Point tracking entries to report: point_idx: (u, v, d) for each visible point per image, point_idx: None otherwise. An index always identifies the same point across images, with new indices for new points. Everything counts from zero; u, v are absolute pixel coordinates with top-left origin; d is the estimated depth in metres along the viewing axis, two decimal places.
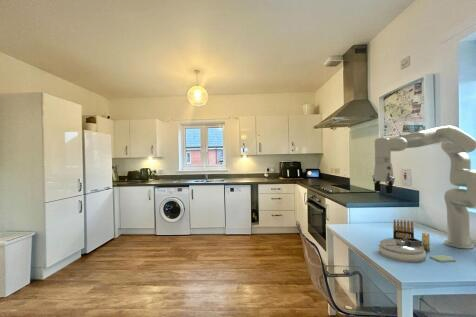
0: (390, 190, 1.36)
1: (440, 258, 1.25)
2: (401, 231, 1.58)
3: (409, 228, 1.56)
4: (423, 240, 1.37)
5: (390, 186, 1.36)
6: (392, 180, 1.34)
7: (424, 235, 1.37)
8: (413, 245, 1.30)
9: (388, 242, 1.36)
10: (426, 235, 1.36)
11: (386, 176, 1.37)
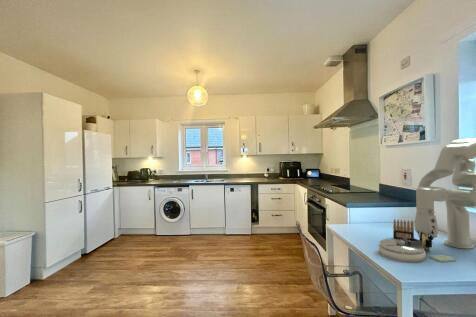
0: (430, 245, 1.35)
1: (440, 258, 1.25)
2: (401, 231, 1.58)
3: (409, 228, 1.56)
4: (423, 240, 1.37)
5: (430, 240, 1.35)
6: (433, 237, 1.32)
7: (424, 235, 1.37)
8: (413, 245, 1.30)
9: (388, 242, 1.36)
10: None
11: (430, 232, 1.33)
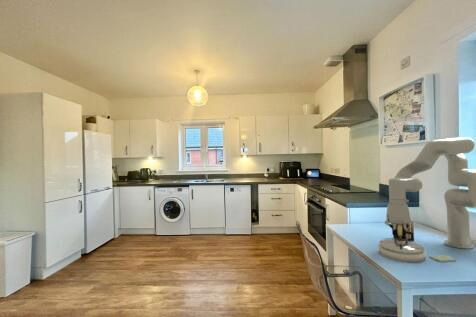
0: None
1: (440, 258, 1.25)
2: None
3: (409, 228, 1.56)
4: (401, 231, 1.36)
5: None
6: (410, 225, 1.36)
7: (401, 226, 1.36)
8: (407, 242, 1.34)
9: (390, 245, 1.32)
10: (402, 225, 1.36)
11: None
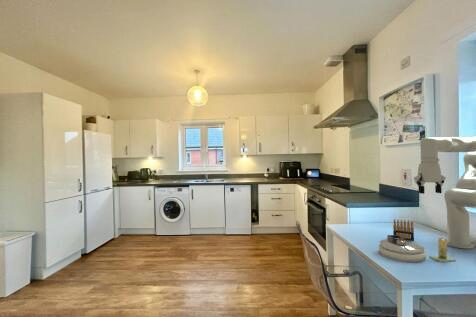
0: None
1: (440, 258, 1.25)
2: (401, 231, 1.58)
3: (409, 228, 1.56)
4: (446, 247, 1.24)
5: None
6: (444, 179, 1.39)
7: (446, 241, 1.24)
8: None
9: (394, 246, 1.29)
10: None
11: None
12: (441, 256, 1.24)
